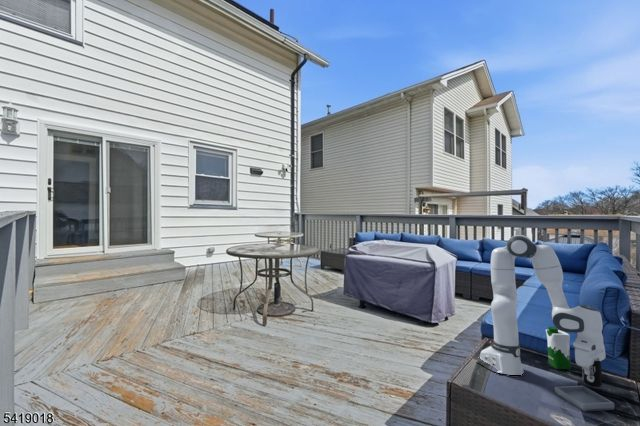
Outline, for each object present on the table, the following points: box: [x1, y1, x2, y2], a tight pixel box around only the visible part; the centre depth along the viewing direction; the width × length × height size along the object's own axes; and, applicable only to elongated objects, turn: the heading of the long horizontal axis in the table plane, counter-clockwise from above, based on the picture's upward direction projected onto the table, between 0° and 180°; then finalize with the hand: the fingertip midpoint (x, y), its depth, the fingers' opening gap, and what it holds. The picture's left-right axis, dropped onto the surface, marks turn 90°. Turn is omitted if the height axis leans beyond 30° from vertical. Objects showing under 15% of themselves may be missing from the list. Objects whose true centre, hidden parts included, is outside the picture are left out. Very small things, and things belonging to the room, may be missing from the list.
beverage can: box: [581, 358, 603, 388], centre depth 137 cm, size 7×7×12 cm
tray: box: [554, 385, 616, 412], centre depth 128 cm, size 14×14×3 cm
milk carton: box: [545, 326, 572, 370], centre depth 160 cm, size 9×9×20 cm
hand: (591, 372), depth 137 cm, fingers closed on beverage can, 7 cm apart
